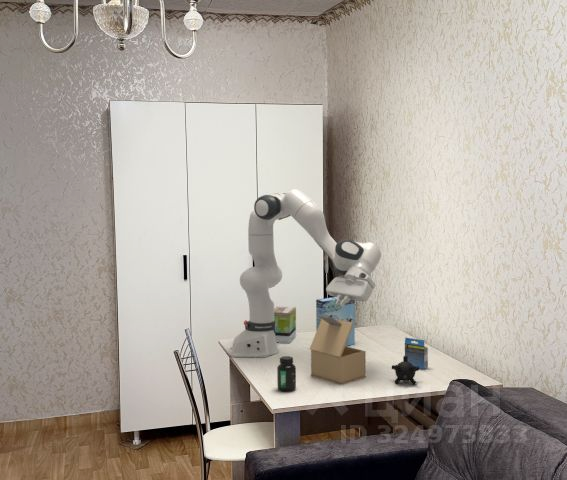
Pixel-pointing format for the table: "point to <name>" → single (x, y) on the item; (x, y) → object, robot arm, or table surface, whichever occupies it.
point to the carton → (339, 365)
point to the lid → (331, 335)
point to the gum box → (337, 313)
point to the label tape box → (416, 353)
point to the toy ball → (405, 371)
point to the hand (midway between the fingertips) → (338, 305)
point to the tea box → (285, 324)
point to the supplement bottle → (286, 374)
